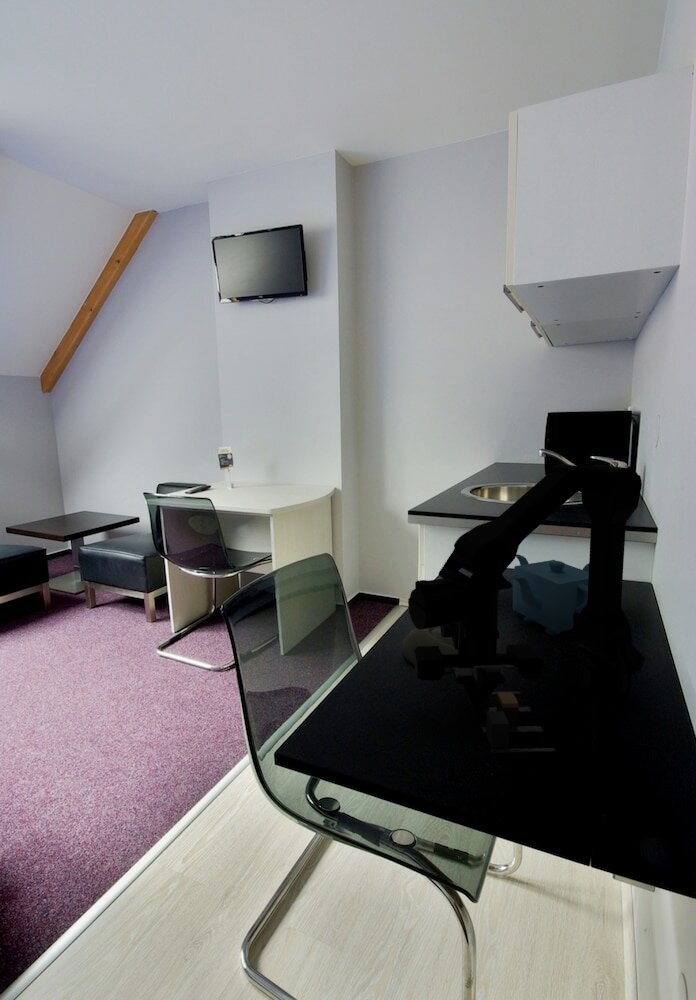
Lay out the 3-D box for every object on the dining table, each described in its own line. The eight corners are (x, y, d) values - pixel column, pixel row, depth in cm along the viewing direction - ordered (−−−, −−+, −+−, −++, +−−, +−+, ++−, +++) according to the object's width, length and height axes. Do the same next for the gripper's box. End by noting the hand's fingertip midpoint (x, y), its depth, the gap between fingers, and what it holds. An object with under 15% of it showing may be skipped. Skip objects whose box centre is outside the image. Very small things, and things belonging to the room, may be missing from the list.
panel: (544, 696, 86) (544, 689, 85) (588, 761, 70) (589, 752, 70) (439, 698, 86) (439, 691, 85) (460, 763, 70) (460, 754, 70)
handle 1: (484, 695, 84) (484, 675, 83) (489, 706, 81) (489, 685, 80) (470, 696, 84) (470, 676, 83) (474, 706, 81) (474, 685, 80)
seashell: (469, 624, 98) (459, 639, 89) (471, 664, 98) (461, 683, 89) (407, 620, 103) (391, 634, 94) (409, 658, 103) (393, 675, 94)
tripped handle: (511, 713, 79) (512, 692, 78) (517, 725, 76) (518, 703, 75) (496, 713, 79) (497, 692, 78) (502, 725, 76) (502, 703, 75)
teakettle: (600, 647, 103) (605, 579, 100) (505, 633, 110) (508, 569, 107) (594, 613, 120) (598, 554, 117) (512, 602, 127) (515, 547, 124)
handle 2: (502, 733, 74) (503, 711, 73) (508, 747, 71) (509, 723, 70) (485, 734, 74) (486, 711, 73) (491, 747, 71) (492, 724, 70)
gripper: (521, 596, 82) (518, 683, 85) (409, 598, 83) (409, 685, 85) (548, 625, 71) (542, 723, 74) (418, 627, 72) (417, 725, 74)
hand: (475, 712), depth 77 cm, fingers closed
